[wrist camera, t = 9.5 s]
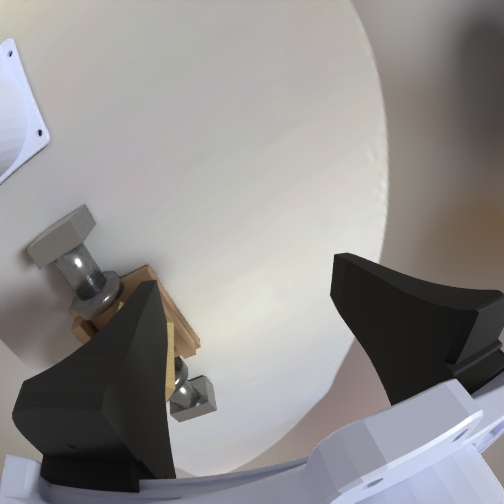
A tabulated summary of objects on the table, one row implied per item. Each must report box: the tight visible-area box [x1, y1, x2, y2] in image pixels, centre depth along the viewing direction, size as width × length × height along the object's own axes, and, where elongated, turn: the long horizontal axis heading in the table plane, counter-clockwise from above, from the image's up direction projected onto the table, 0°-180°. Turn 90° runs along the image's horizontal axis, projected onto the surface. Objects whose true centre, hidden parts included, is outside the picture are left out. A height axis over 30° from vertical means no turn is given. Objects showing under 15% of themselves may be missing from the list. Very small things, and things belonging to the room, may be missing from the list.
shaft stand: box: [26, 204, 217, 422], centre depth 21 cm, size 20×8×4 cm, turn 22°
